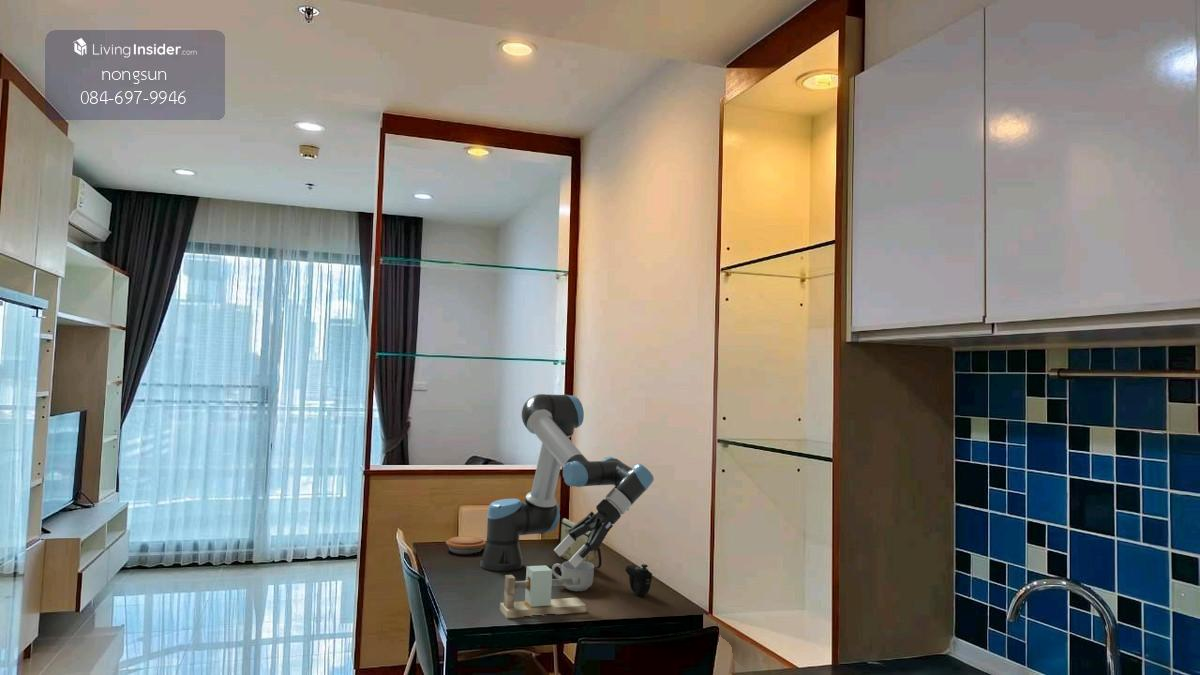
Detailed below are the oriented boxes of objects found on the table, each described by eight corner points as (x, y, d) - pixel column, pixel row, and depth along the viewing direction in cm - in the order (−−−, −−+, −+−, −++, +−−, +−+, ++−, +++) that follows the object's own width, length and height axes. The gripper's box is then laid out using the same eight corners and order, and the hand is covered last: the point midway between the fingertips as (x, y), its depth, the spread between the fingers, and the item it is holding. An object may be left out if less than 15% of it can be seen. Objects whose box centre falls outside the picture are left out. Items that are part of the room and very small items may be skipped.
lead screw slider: (576, 604, 228) (578, 569, 229) (586, 612, 220) (587, 575, 221) (499, 609, 219) (501, 573, 220) (506, 618, 211) (508, 580, 212)
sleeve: (544, 599, 223) (545, 565, 224) (550, 605, 218) (552, 570, 218) (524, 600, 221) (526, 566, 221) (530, 606, 215) (532, 571, 216)
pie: (449, 556, 280) (450, 543, 281) (441, 547, 295) (442, 534, 295) (490, 554, 286) (490, 541, 287) (480, 546, 301) (480, 533, 301)
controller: (641, 599, 236) (642, 567, 236) (623, 589, 247) (624, 558, 247) (653, 598, 238) (654, 566, 238) (634, 588, 249) (635, 557, 249)
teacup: (597, 587, 248) (598, 562, 248) (586, 595, 238) (587, 569, 238) (558, 581, 253) (560, 557, 253) (546, 589, 242) (547, 564, 243)
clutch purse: (606, 574, 266) (608, 531, 266) (588, 575, 263) (590, 532, 264) (573, 555, 292) (575, 516, 293) (556, 556, 290) (558, 516, 290)
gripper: (637, 523, 218) (586, 578, 212) (605, 508, 241) (558, 557, 235) (621, 505, 216) (570, 560, 210) (590, 491, 239) (543, 540, 233)
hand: (564, 558), depth 222 cm, fingers open, 13 cm apart
